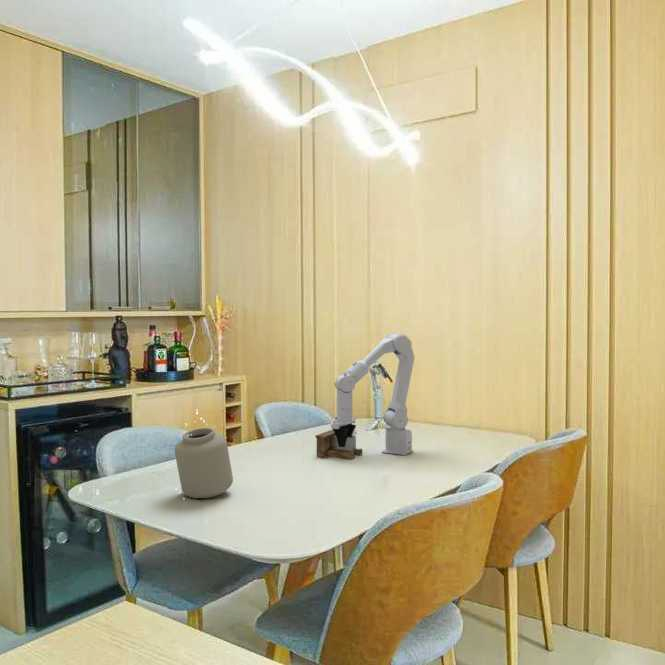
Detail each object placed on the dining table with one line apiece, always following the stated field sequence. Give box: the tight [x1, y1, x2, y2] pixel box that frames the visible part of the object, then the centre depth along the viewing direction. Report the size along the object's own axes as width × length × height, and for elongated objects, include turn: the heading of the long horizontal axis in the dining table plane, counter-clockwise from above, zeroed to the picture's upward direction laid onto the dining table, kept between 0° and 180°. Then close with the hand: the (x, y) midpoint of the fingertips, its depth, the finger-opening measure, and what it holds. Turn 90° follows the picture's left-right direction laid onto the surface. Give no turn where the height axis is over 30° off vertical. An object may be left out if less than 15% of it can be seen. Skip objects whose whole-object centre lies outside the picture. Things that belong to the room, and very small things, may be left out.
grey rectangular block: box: [331, 435, 357, 453], centre depth 241 cm, size 8×4×6 cm, turn 63°
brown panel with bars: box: [315, 428, 363, 460], centre depth 241 cm, size 13×15×8 cm
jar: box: [174, 409, 234, 500], centre depth 189 cm, size 19×15×25 cm
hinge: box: [330, 416, 357, 436], centre depth 275 cm, size 17×5×10 cm, turn 164°
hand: (344, 445), depth 241 cm, fingers closed on grey rectangular block, 4 cm apart
